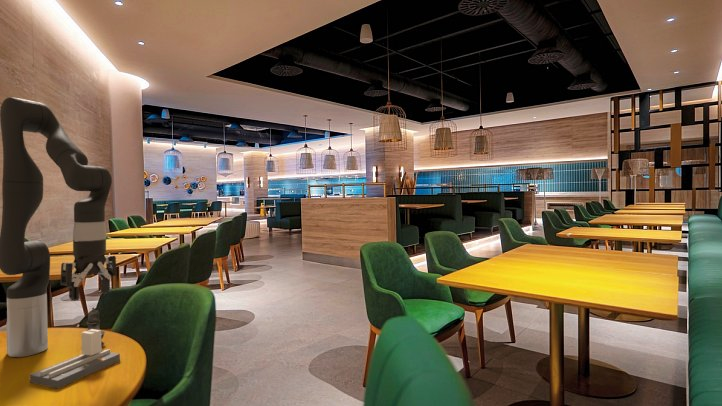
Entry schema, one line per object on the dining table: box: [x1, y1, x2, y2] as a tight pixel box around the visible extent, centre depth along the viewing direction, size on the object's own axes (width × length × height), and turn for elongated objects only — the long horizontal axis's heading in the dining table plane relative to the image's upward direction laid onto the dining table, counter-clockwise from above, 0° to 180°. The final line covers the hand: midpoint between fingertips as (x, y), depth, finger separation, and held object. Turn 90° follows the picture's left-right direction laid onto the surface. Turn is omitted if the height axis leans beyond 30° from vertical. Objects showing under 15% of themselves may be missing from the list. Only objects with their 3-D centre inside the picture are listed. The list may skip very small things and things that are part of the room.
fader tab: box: [80, 329, 102, 358], centre depth 110 cm, size 4×3×7 cm
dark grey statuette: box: [86, 306, 106, 347], centre depth 124 cm, size 6×6×12 cm
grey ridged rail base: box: [29, 347, 121, 390], centre depth 107 cm, size 10×17×3 cm, turn 161°
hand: (90, 296), depth 110 cm, fingers open, 8 cm apart
